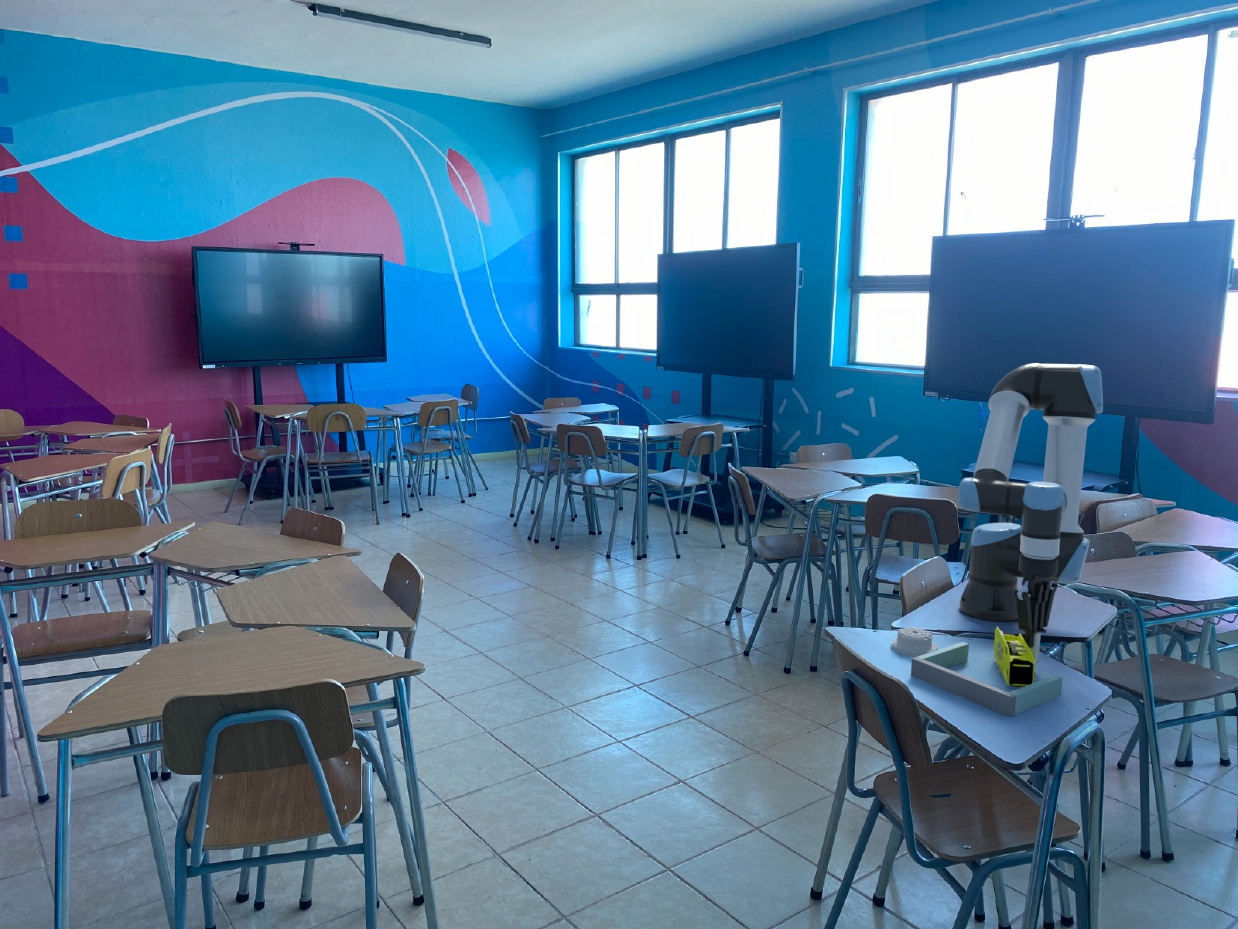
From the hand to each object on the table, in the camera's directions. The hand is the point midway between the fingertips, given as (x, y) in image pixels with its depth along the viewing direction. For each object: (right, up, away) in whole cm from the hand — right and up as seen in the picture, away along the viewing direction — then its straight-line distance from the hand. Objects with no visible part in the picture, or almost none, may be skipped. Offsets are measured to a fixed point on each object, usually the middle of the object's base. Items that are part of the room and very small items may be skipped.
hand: (1030, 660), depth 188 cm
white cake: (-21, -1, +12) cm, 24 cm away
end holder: (-13, -3, -8) cm, 15 cm away
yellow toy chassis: (-5, -3, -3) cm, 6 cm away
